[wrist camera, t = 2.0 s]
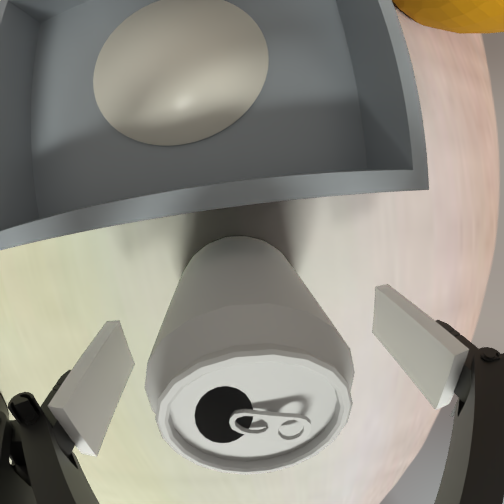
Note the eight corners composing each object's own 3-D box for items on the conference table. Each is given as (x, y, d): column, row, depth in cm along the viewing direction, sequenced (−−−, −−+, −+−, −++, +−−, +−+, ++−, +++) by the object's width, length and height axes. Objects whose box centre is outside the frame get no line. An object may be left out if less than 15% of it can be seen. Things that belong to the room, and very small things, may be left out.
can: (185, 226, 18) (119, 317, 6) (302, 239, 18) (407, 333, 7) (180, 331, 19) (147, 477, 8) (283, 339, 20) (332, 478, 9)
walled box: (39, 232, 17) (-12, 253, 11) (38, 23, 12) (1, -2, 6) (374, 183, 18) (428, 189, 12) (331, -27, 13) (358, -68, 7)
